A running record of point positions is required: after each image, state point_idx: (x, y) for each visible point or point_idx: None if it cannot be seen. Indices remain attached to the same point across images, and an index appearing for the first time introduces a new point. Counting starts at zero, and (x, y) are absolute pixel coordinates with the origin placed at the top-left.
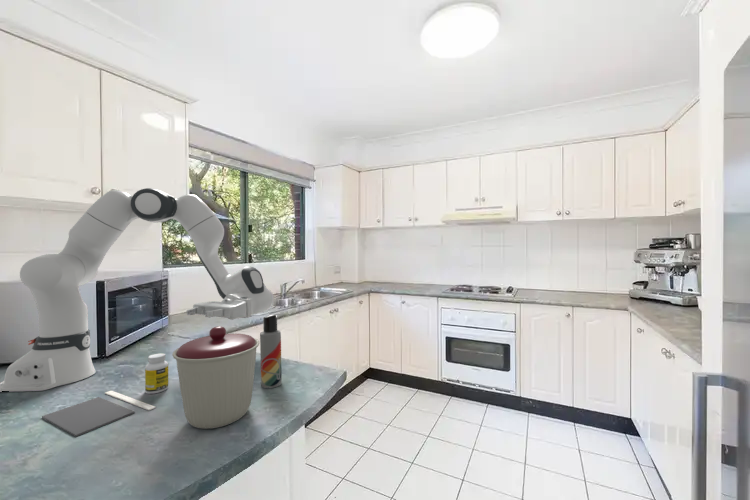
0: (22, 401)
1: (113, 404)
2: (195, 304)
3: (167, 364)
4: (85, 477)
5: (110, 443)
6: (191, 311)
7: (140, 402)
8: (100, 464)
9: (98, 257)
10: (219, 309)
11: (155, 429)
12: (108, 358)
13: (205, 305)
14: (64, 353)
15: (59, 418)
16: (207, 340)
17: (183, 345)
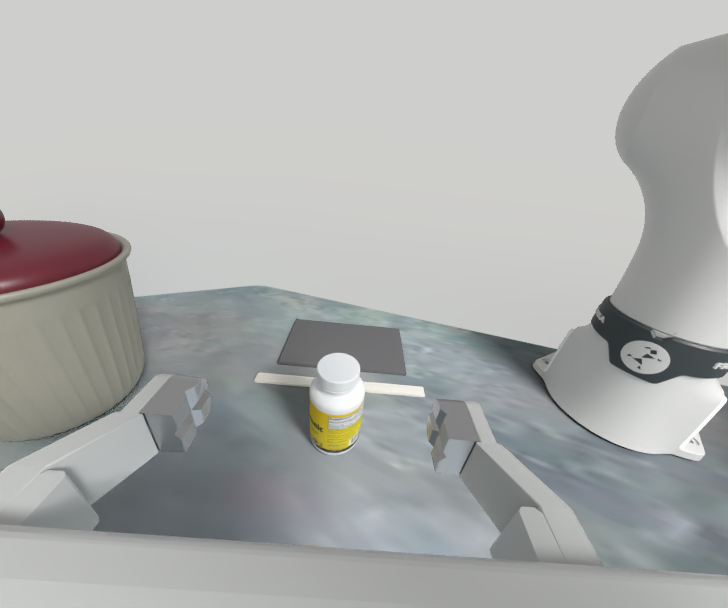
0: (495, 344)
1: None
2: (724, 583)
3: (313, 401)
4: (209, 298)
5: (236, 322)
6: (438, 422)
7: (303, 382)
8: (211, 306)
9: None
10: (34, 480)
11: (195, 347)
12: None
13: (437, 559)
14: (587, 339)
15: (368, 330)
16: (20, 232)
17: (96, 230)
